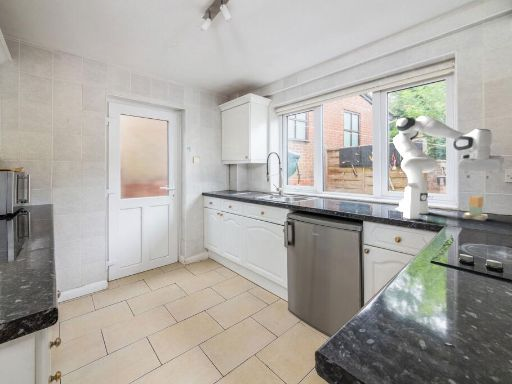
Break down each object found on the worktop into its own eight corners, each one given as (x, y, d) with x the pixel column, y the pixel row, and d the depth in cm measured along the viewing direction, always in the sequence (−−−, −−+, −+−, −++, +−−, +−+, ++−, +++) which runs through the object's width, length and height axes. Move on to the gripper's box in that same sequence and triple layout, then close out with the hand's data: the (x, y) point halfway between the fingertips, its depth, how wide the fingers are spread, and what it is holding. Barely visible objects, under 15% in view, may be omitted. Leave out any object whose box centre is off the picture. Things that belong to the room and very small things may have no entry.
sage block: (469, 214, 154) (469, 206, 153) (471, 213, 157) (471, 205, 156) (480, 215, 150) (480, 207, 149) (481, 214, 153) (482, 206, 153)
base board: (462, 218, 154) (462, 214, 154) (466, 216, 161) (466, 212, 160) (484, 220, 147) (484, 216, 146) (487, 218, 153) (487, 214, 153)
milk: (403, 217, 157) (404, 182, 155) (412, 217, 158) (413, 182, 156) (409, 219, 151) (411, 183, 149) (419, 219, 152) (420, 183, 150)
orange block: (469, 206, 154) (470, 196, 154) (473, 205, 156) (474, 196, 155) (477, 207, 150) (478, 197, 150) (482, 206, 152) (483, 197, 151)
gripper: (504, 155, 144) (502, 179, 146) (460, 156, 160) (458, 177, 161) (503, 155, 140) (500, 179, 142) (457, 156, 156) (455, 178, 157)
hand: (477, 178), depth 152 cm, fingers open, 8 cm apart
